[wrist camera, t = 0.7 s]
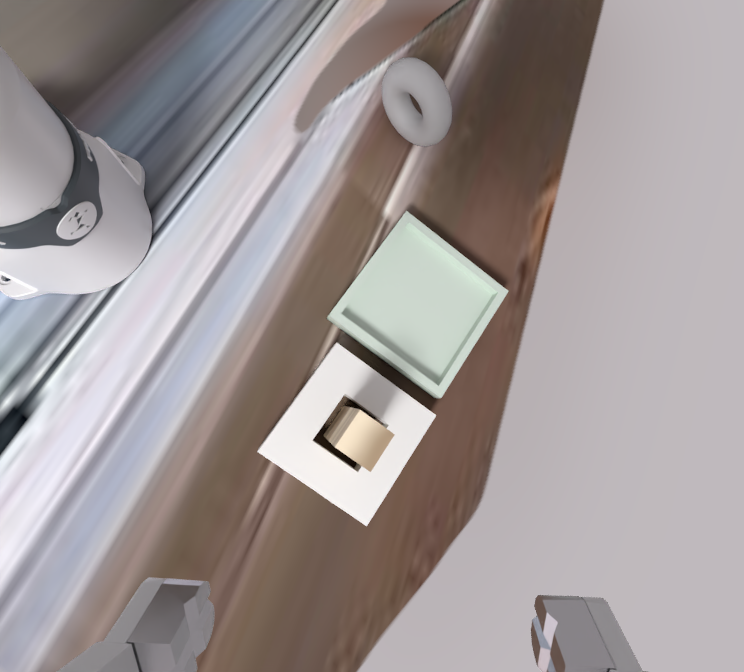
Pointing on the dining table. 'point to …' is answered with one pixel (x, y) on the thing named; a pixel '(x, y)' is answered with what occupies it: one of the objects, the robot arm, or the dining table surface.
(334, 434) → the maple block
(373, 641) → the dining table surface
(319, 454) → the pocket plate
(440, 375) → the tray
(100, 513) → the dining table surface
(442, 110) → the donut
